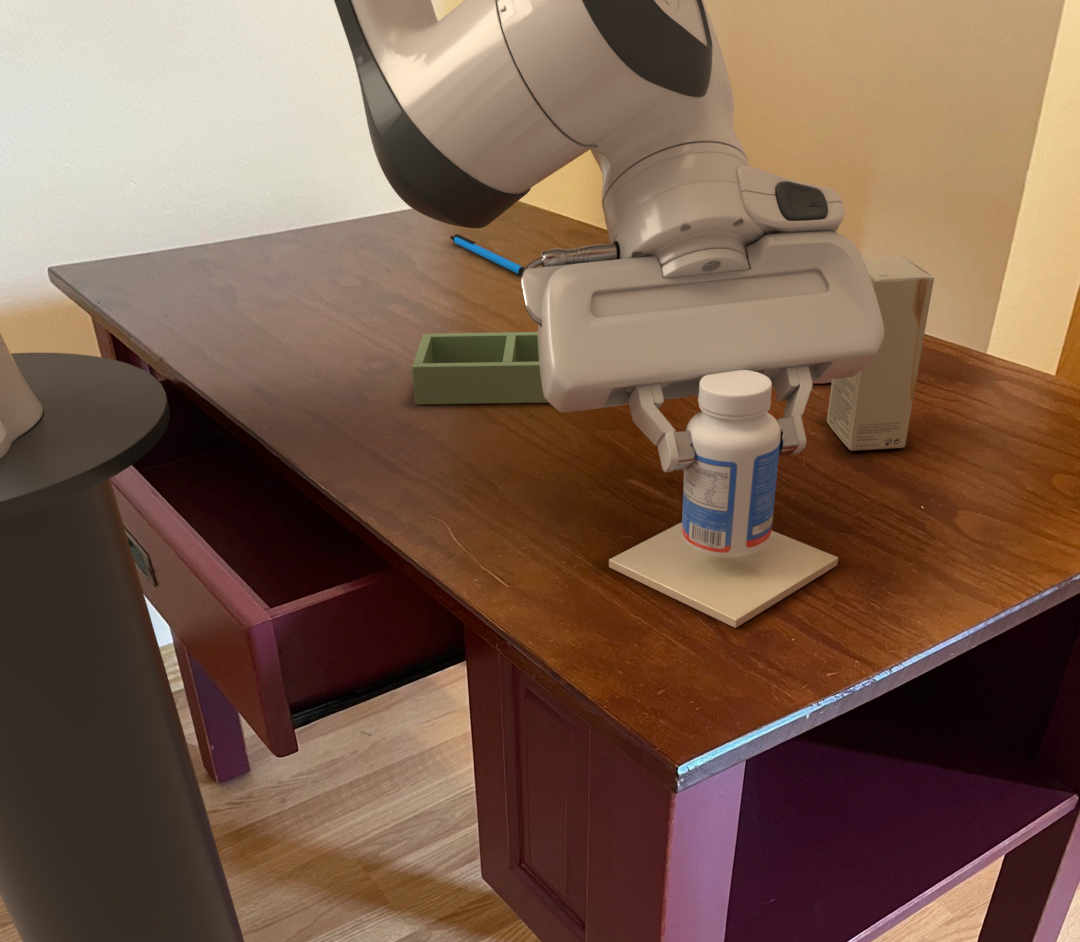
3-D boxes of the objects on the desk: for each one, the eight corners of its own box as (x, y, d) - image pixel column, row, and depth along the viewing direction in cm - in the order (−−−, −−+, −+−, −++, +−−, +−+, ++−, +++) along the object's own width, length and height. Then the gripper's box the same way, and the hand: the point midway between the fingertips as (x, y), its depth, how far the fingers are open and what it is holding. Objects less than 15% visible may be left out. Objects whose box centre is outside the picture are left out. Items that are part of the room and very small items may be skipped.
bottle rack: (602, 402, 89) (602, 363, 87) (415, 405, 89) (411, 366, 87) (600, 367, 95) (601, 330, 93) (426, 370, 96) (423, 333, 94)
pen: (455, 240, 130) (454, 230, 129) (533, 278, 117) (532, 267, 116) (448, 241, 130) (447, 231, 129) (526, 279, 116) (525, 268, 116)
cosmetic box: (906, 450, 80) (939, 277, 72) (848, 453, 80) (875, 281, 72) (878, 416, 85) (906, 252, 78) (823, 420, 85) (846, 255, 77)
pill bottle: (753, 513, 68) (769, 360, 62) (783, 554, 64) (802, 394, 58) (669, 522, 68) (677, 368, 62) (693, 564, 64) (704, 403, 58)
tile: (735, 628, 62) (736, 619, 61) (608, 567, 67) (608, 559, 67) (837, 565, 67) (838, 557, 67) (711, 514, 73) (712, 505, 72)
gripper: (522, 221, 59) (572, 462, 57) (866, 189, 63) (922, 415, 61) (507, 283, 65) (552, 502, 63) (821, 251, 69) (871, 458, 67)
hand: (736, 459), depth 62 cm, fingers closed on pill bottle, 5 cm apart
